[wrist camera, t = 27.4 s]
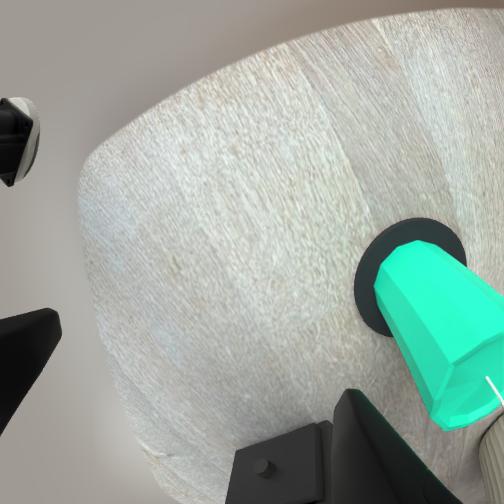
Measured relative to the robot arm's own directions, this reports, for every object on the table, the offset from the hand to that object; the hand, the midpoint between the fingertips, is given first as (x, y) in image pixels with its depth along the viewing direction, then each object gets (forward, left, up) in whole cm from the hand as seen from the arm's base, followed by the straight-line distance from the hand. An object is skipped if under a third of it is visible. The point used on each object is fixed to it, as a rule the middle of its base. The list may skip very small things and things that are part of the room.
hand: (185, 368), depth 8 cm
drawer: (+21, -16, -11) cm, 29 cm away
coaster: (+11, +5, -12) cm, 17 cm away
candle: (+11, +5, -12) cm, 17 cm away
